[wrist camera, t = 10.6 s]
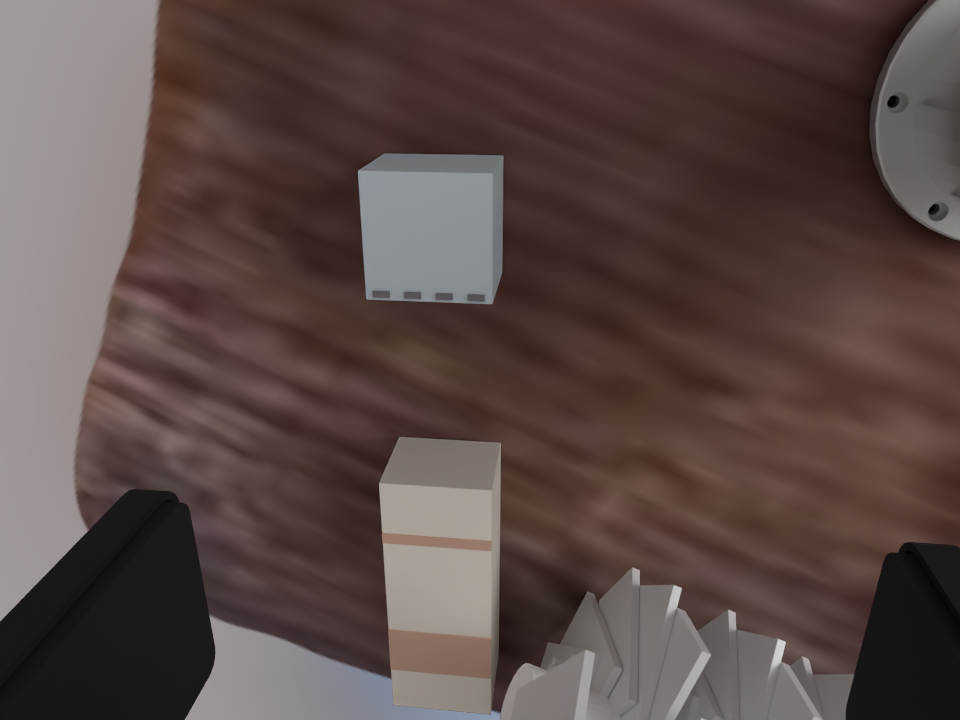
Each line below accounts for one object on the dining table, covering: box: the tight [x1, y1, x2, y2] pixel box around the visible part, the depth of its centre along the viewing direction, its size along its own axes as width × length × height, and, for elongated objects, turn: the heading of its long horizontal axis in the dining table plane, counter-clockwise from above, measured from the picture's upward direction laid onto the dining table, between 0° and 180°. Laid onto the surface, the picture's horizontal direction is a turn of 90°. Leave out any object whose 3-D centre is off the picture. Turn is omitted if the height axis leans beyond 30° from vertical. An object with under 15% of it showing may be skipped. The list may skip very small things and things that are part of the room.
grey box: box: [358, 153, 503, 304], centre depth 37 cm, size 6×6×5 cm
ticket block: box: [379, 437, 501, 715], centre depth 46 cm, size 6×16×5 cm, turn 0°
